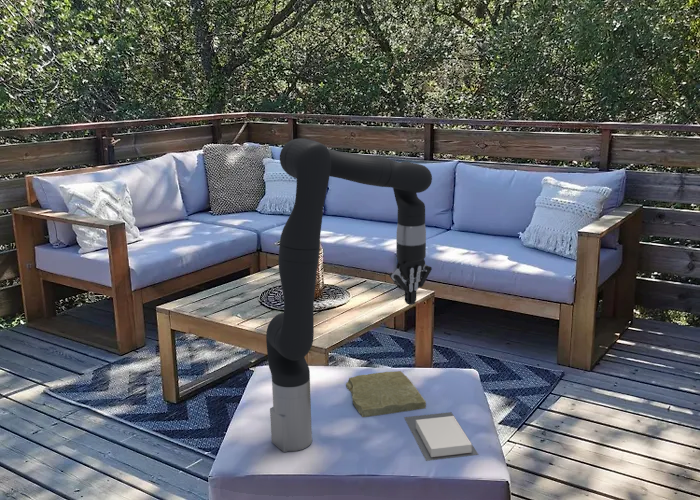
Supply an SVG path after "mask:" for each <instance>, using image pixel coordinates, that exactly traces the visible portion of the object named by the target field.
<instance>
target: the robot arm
mask: <svg viewBox="0 0 700 500" xmlns="http://www.w3.org/2000/svg"><path fill="white" fill-rule="evenodd" d="M279 163H280V166H281V168H282V170H283V171H284V172H285V173H286V174H287V175H289V176H290V177H292V178H294V179H296V188H295V189H296V190H295V200H294V206H293V209H292V210H291V212H290V214H289V216H288V218H287V221H286V223H285V224H284V226H283V228H282V231H281V233H280V239H279V248H278V249H279V250H278V262H277V263H278V272H279V279H280V284H281V287H282V288H281V289H282V293H283V312H282V313H278V314H276V315H275V316H273V318H272V319H270V321H269V323H268V325H267V328H266V334H265V336H266V337H265V339H266V341H265V342H266V353H267V354H266V355H267V362H268V363H267V364H268V368H269V371H270V374H271V388H272V389H271V390H272V407H270V409H269V415H270V433H271V435H270V437H271V443H272V444H273V445H274V446H276V447H277V448H278V449H280V450H281V452H282V453H286V452H296V451H297V452H298V451H301V450H303V449H306V448H308V447H310V445H311V444H312V441H313V437H312V436H313V435H312V434H313V431H312V430H313V428H312V404H311V375H310V374H311V373H310V367H309V365H308V362H307V360H306V358H305V357H307V355H308V354H309V352H310V351H311V349H312V347H313V342H314V335H315V334H314V331H315V329H314V322H315V321H314V302H315V301H314V300H315V292H316V286H317V285H316V284H317V271H318V264H319V256H320V246H321V233H322V232H321V231H322V224H323V216H324V215H323V214H324V205H325V199H326V195H327V190H328V185H329V180H330V177H331V178H338V179H341V180H346V181H350V182H353V183H357V184H361V185H367V186H372V187H373V186H374V187H381V188H390V189H391V188H392V191H393V194H394V199H395V202H396V206H397V224H396V225H397V227H396V244H395V245H396V259H397V264H396V266H395V267H396V269H395V271H394V272H389V274H388V275H389V277H390V280H392V282H393V283H394V284H395V286H396V287H397V289H399V290H402V291H404V303H406V304H407V305H409V306H412V305H415V304H416V301H417V292H418V289H419V288H422V287H423V286H424V284H425V282H426V281H427V279H428V277H429V276H430V273H431V272H432V270H433V267H432V266H430V265H427V264H426V261H425V258H426V256H427V253H426V251H427V248H426V247H427V229H426V204H425V202H424V201H423V200H422V199H420V198H419V197H418V194H419V193H420V194H421V193H423V192H425V191H426V190H428V189H429V188H430V186H431V184H432V182H433V177H432V173H431V171H430V169H429V168H428V167H426V166H425V165H423V164H419V163H416V162H411V161H397V160H394V159H390V158H387V157H386V158H385V157H380V156H375V155H369V154H360V153H359V154H358V153H352V152H347V151H346V152H345V151H339V150H334V149H330V148H328V147H327V146H326V145H324V144H323V143H322V142H319V141H314V140H311V139H307V138H300V137H299V138H294V139H292V140H289V141H288V142H286V143H285V144H284V145H283V147H282V148H281V150H280V154H279ZM417 193H418V194H417Z"/></svg>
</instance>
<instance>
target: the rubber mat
mask: <svg viewBox="0 0 700 500" xmlns="http://www.w3.org/2000/svg"><path fill="white" fill-rule="evenodd" d="M448 416H454V414H453V413H452V411H450V412H441V413H431V414H423V415H422V414H421V415H414V416H413V415H412V416H403V418H404V420H405V423H406V424H407V426H408V428H409V430H410V433H411V434H412V436H413V437H414V440H415V442H416V444H417V446H418V448H419V450H420V452H421V453H422V456H423V458H424V459H425V461H426V462H428V461H436V460H445V459H454V458H462V457H469V456H478V455H479V453H478V451H477V449H475V446H474V445H473V443H472V442H471V439H469V437H468V436H467V434H466V432H465V431H464V429H463V428H462V426H461V425H460V424H459V422H458V424H459V425H460V427H461V428H462V430H463V431H464V433H465V435H466V436H467V438H468V439H469V441H470V442H471V444H472V453H465V454H456V455H448V456H439V457H431V456H430V454H429V452H428V450H427V448H426V446H425V444H424V442H423V440H422V439H421V437H420V435H419V433H418V431H417V429H416V420H420V419H429V418H439V417H448ZM454 417H455V416H454ZM455 419H456V417H455ZM456 420H457V419H456Z"/></svg>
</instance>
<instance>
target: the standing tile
mask: <svg viewBox="0 0 700 500" xmlns="http://www.w3.org/2000/svg"><path fill="white" fill-rule="evenodd" d="M455 418H456V417H455V416H448V417H439V418H429V419H420V420H416V429H417V431H418V433H419V435H420V437H421V439H422V440H423V442H424V444H425V446H426V448H427V450H428V452H429V454H430V456H431V457H439V456H448V455H456V454H465V453H472V445H473V443H472V442H471V440H470V439H469V437H468V436H467V434H466V432H465V430H464V429H463V428H462V426H461V425H460V424H458V423H459V421H458V419H455ZM460 426H461V427H460ZM462 429H463V430H462ZM464 432H465V433H464ZM465 434H466V435H465ZM467 437H468V438H467ZM469 440H470V441H469ZM471 443H472V444H471Z"/></svg>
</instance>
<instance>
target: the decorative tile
mask: <svg viewBox="0 0 700 500" xmlns="http://www.w3.org/2000/svg"><path fill="white" fill-rule="evenodd" d="M345 386H346V389H347V390H348V391H349V392H350V393H351V397H352V399H351V400H352V404H353V406H354V408H355V409H356V410H357V412H358V413H359V415H361V418H369V417H374V416H375V417H376V416H381V415H382V416H383V415H390V414H391V415H392V414H396V413H403V412H410V411H417V410H422V409H426V407H427V406H426V405H427V402H426V400H425V398H424V397H423V396H422V394H421V393H420V390H418V389H417V387H416V386H415V385H414V384H413V382H412V380H411V379H409V378H408V377H407V375H406V374H405V373H403V372H402V371H401V370H400V371H399V370H398V371H383V372H376V373H373V372H372V373H368V374H359V375H354V376H352V377H349V378H348V380H347V382H346V383H345Z"/></svg>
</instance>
